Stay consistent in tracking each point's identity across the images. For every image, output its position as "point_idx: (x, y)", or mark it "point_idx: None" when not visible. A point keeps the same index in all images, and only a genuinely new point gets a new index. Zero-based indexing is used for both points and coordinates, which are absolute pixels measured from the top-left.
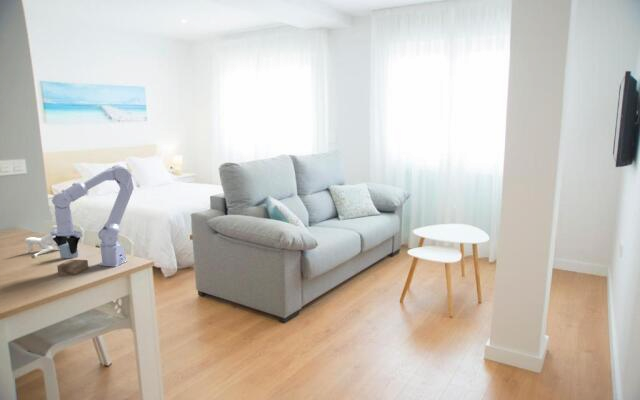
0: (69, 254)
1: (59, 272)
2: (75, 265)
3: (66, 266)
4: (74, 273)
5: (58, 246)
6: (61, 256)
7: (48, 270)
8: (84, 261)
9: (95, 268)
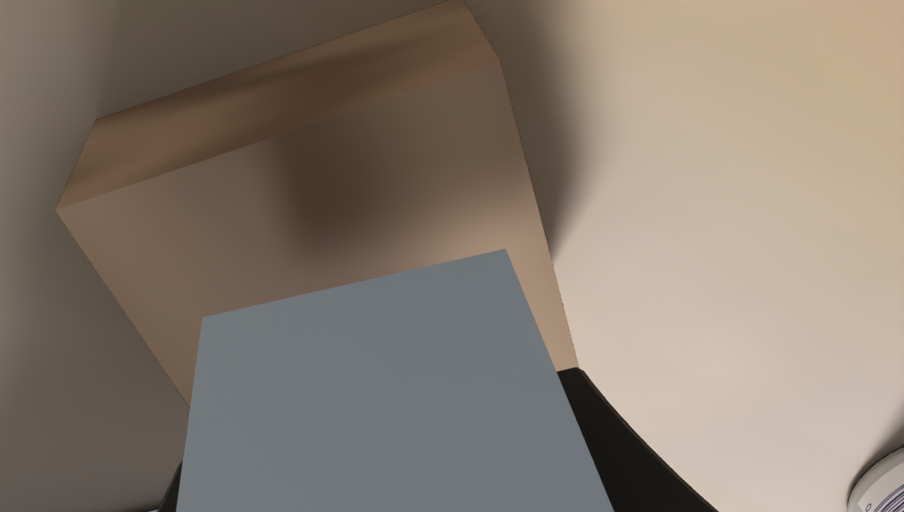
0: (203, 402)
1: (438, 18)
2: (97, 249)
3: (257, 136)
4: (111, 124)
5: (702, 504)
6: (476, 271)
7: (828, 42)
8: None
9: (127, 420)
